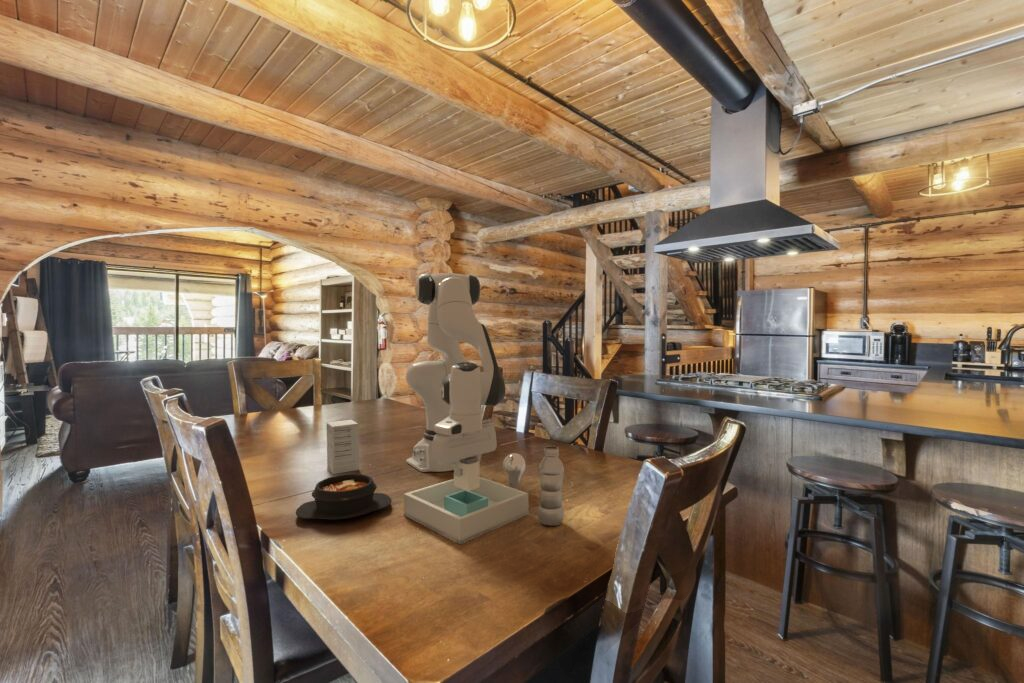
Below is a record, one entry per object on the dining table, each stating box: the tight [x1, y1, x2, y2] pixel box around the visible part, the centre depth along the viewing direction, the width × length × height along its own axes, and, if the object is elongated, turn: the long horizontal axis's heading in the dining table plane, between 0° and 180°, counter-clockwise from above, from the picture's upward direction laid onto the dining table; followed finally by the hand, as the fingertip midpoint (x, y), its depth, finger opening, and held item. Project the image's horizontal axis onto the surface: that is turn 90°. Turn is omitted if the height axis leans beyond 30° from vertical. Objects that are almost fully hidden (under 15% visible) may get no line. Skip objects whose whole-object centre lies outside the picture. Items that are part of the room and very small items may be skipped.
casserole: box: [295, 473, 392, 521], centre depth 128 cm, size 25×19×8 cm
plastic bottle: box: [537, 445, 565, 527], centre depth 120 cm, size 6×7×20 cm
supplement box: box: [325, 419, 360, 475], centre depth 166 cm, size 10×9×17 cm
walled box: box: [403, 475, 529, 545], centre depth 126 cm, size 24×24×6 cm
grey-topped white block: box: [453, 457, 480, 491], centre depth 125 cm, size 6×4×8 cm, turn 46°
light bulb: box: [502, 452, 526, 490], centre depth 143 cm, size 7×7×12 cm
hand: (466, 473), depth 125 cm, fingers closed on grey-topped white block, 4 cm apart
